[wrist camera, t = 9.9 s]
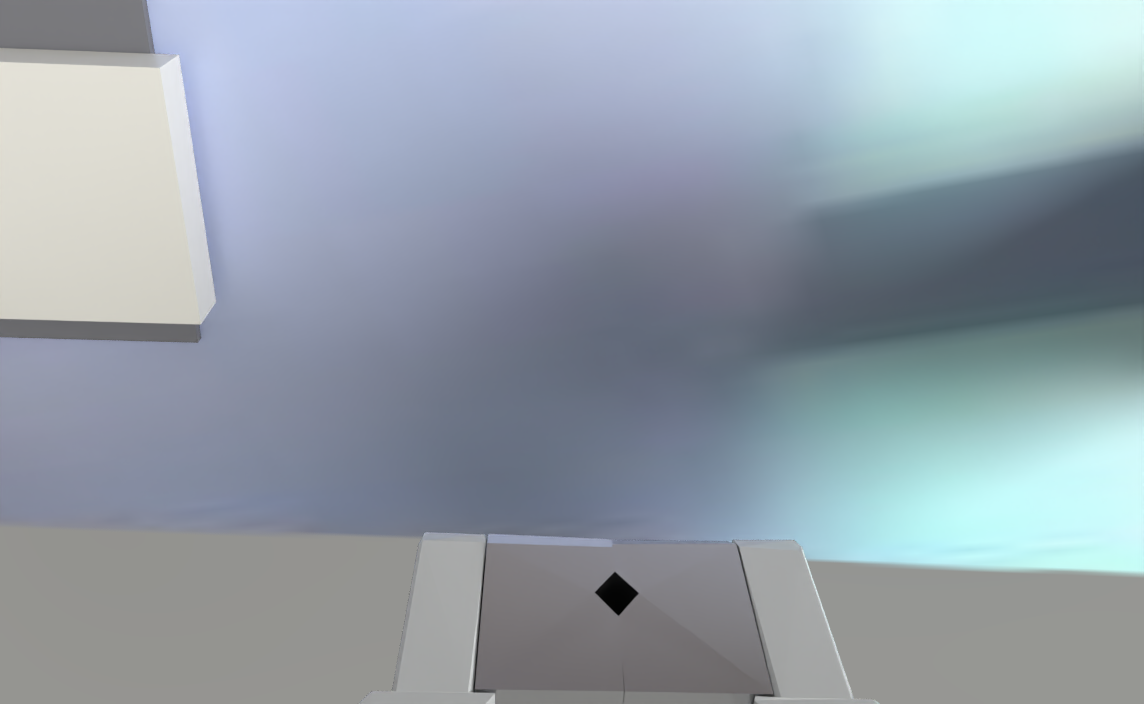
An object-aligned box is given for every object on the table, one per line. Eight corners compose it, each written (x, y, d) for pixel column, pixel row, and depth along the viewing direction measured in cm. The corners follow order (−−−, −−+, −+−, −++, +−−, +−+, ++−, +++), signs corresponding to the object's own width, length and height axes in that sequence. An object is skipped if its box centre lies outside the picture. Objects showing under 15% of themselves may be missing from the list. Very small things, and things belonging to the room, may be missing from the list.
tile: (159, 68, 34) (-138, 56, 34) (201, 324, 39) (-58, 316, 39) (179, 54, 36) (-102, 43, 36) (216, 300, 41) (-31, 293, 40)
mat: (144, -7, 35) (140, -5, 35) (200, 338, 42) (198, 342, 42) (-201, -21, 35) (-208, -19, 34) (-87, 329, 42) (-93, 334, 41)
